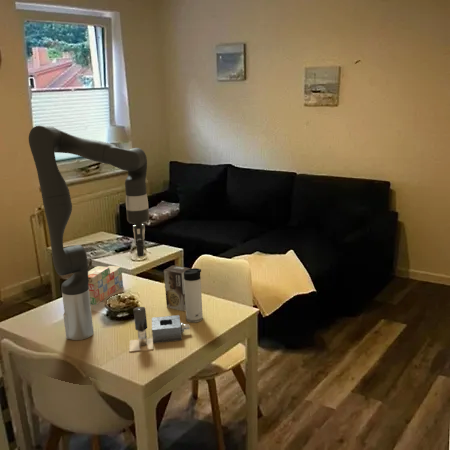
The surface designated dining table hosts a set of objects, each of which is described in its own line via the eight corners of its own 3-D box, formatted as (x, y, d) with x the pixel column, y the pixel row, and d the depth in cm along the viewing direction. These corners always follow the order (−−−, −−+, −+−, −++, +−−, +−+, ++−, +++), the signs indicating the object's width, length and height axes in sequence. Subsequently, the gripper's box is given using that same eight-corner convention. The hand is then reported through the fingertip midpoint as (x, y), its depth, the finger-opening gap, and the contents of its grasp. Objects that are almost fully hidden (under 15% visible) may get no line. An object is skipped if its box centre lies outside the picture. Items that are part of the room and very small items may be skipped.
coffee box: (193, 305, 214) (191, 268, 210) (184, 311, 209) (181, 273, 205) (175, 301, 219) (173, 264, 215) (165, 307, 214) (163, 269, 210)
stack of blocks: (111, 284, 240) (108, 259, 237) (123, 286, 238) (121, 260, 235) (83, 303, 221) (80, 275, 218) (95, 305, 219) (92, 276, 216)
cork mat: (129, 352, 179) (129, 351, 179) (129, 341, 187) (129, 340, 187) (153, 349, 180) (153, 348, 180) (152, 339, 188) (152, 338, 188)
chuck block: (153, 343, 185) (152, 329, 184) (152, 330, 195) (151, 317, 193) (190, 339, 187) (190, 326, 185) (188, 326, 196) (188, 314, 195)
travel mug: (201, 323, 199) (198, 272, 194) (184, 322, 200) (181, 272, 195) (205, 316, 205) (202, 267, 199) (188, 315, 206) (185, 266, 201)
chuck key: (148, 346, 182) (144, 311, 178) (136, 347, 182) (132, 311, 179) (149, 341, 185) (146, 306, 182) (138, 341, 186) (134, 307, 183)
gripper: (148, 211, 176) (151, 257, 180) (148, 202, 190) (151, 245, 194) (125, 212, 175) (129, 259, 179) (126, 203, 189) (130, 247, 193)
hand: (140, 252), depth 187 cm, fingers open, 8 cm apart
